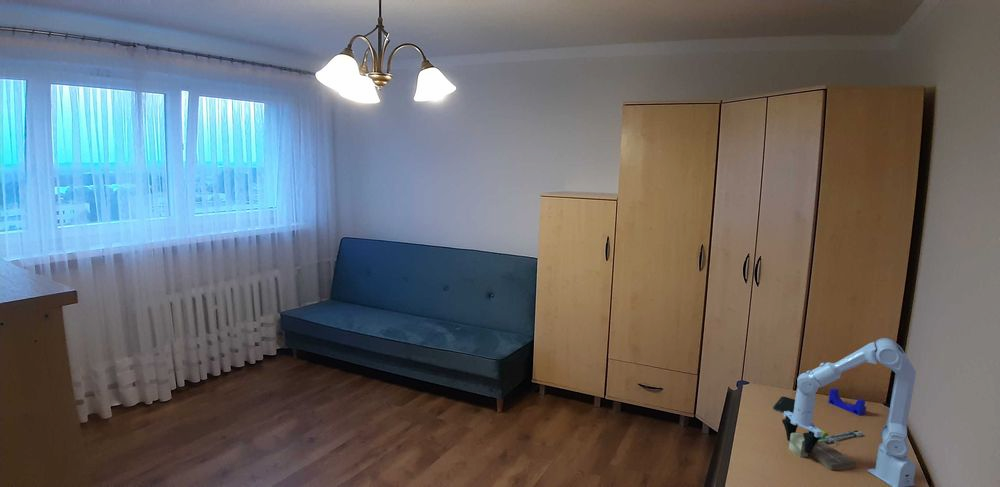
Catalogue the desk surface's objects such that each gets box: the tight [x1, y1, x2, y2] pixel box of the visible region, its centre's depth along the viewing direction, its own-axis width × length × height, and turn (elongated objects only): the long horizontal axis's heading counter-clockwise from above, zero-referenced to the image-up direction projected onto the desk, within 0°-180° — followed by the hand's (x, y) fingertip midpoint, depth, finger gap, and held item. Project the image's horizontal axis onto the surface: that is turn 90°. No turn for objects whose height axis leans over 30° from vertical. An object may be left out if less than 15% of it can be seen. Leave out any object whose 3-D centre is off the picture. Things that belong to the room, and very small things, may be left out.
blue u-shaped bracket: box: [828, 388, 867, 416], centre depth 214 cm, size 12×4×6 cm, turn 28°
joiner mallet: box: [788, 431, 818, 458], centre depth 180 cm, size 5×8×6 cm, turn 104°
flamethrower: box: [815, 425, 864, 447], centre depth 190 cm, size 29×3×10 cm
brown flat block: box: [808, 441, 856, 471], centre depth 176 cm, size 13×9×2 cm
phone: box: [772, 396, 795, 414], centre depth 214 cm, size 8×1×15 cm
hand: (799, 446), depth 179 cm, fingers open, 7 cm apart
